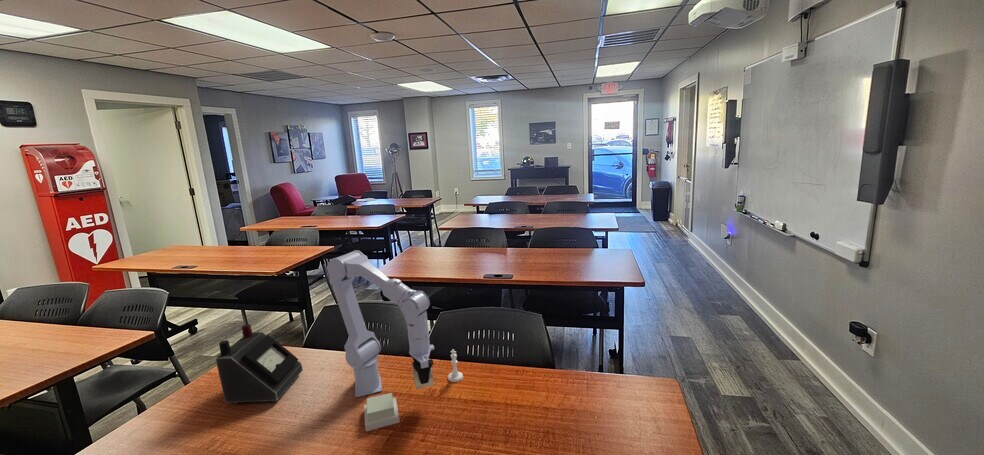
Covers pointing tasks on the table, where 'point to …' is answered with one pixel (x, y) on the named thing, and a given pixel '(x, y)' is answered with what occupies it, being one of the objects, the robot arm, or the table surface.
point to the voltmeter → (255, 368)
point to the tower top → (380, 407)
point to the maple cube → (417, 381)
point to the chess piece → (454, 369)
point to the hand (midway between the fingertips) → (422, 377)
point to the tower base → (383, 421)
